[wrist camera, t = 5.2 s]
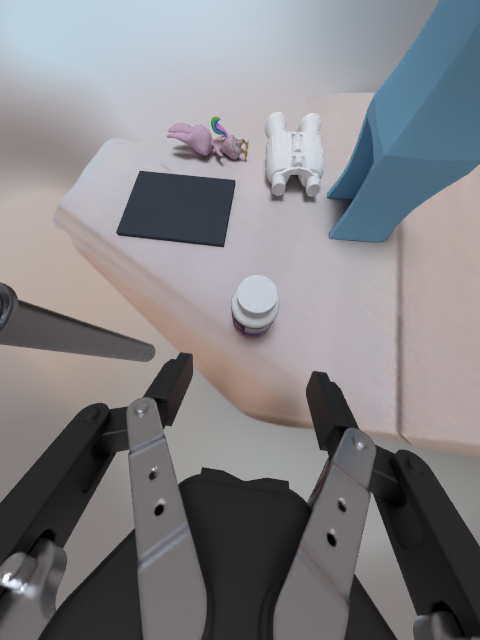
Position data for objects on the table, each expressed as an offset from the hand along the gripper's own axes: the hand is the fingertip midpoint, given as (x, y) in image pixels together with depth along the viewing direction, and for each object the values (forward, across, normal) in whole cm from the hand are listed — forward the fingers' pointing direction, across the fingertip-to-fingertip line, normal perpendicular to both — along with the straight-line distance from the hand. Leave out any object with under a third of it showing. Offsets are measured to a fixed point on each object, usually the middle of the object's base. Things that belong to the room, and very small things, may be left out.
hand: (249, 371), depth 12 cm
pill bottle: (+15, 0, +4) cm, 15 cm away
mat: (+28, +15, -9) cm, 33 cm away
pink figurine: (+38, +12, -19) cm, 44 cm away
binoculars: (+37, -4, -18) cm, 41 cm away
